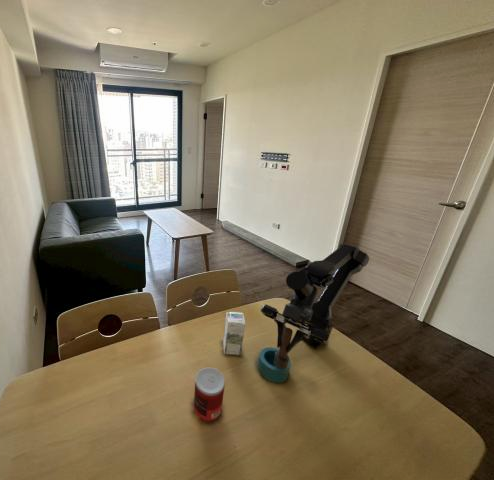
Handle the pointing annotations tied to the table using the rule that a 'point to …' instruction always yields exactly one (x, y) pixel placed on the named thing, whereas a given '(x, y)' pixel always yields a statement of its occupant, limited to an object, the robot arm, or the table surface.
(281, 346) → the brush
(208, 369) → the canned food
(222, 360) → the table surface
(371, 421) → the table surface
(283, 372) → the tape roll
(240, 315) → the syrup box
